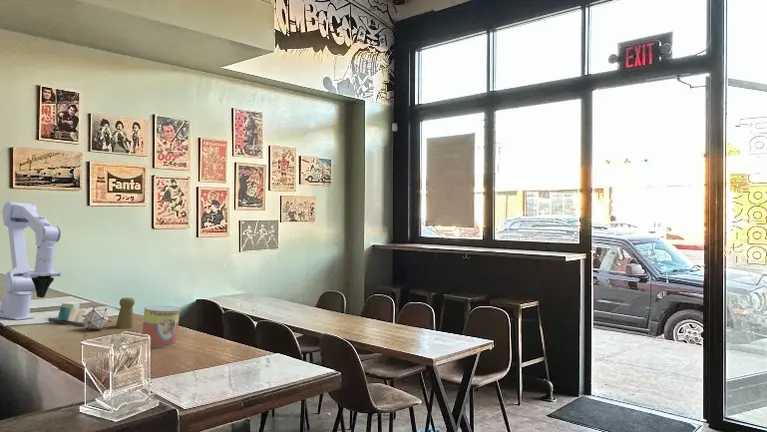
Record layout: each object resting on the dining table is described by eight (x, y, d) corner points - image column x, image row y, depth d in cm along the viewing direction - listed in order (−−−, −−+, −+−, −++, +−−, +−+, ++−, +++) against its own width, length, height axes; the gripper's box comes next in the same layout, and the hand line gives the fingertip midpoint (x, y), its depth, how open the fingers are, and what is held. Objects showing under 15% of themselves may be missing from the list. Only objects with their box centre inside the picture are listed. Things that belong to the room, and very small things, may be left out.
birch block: (60, 306, 208) (76, 309, 215) (57, 318, 207) (72, 320, 214) (70, 308, 207) (85, 310, 214) (67, 320, 206) (82, 322, 212)
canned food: (150, 348, 182) (154, 311, 182) (134, 341, 190) (138, 306, 190) (182, 345, 190) (186, 310, 191) (166, 339, 198) (169, 305, 198)
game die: (100, 339, 204) (121, 318, 206) (87, 334, 196) (109, 312, 199) (84, 324, 206) (105, 303, 209) (71, 319, 198) (93, 297, 201)
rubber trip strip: (48, 320, 210) (48, 317, 210) (50, 320, 211) (51, 317, 211) (82, 326, 205) (82, 323, 205) (85, 326, 206) (85, 323, 207)
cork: (129, 325, 216) (132, 296, 217) (135, 328, 212) (138, 298, 212) (113, 325, 212) (116, 296, 212) (118, 328, 208) (122, 299, 208)
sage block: (60, 318, 216) (61, 303, 216) (66, 317, 220) (68, 301, 220) (71, 319, 216) (73, 304, 216) (78, 318, 220) (79, 302, 220)
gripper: (36, 260, 193) (31, 300, 193) (70, 260, 207) (66, 296, 207) (20, 258, 195) (15, 297, 195) (55, 258, 209) (50, 294, 209)
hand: (40, 297), depth 201 cm, fingers closed
